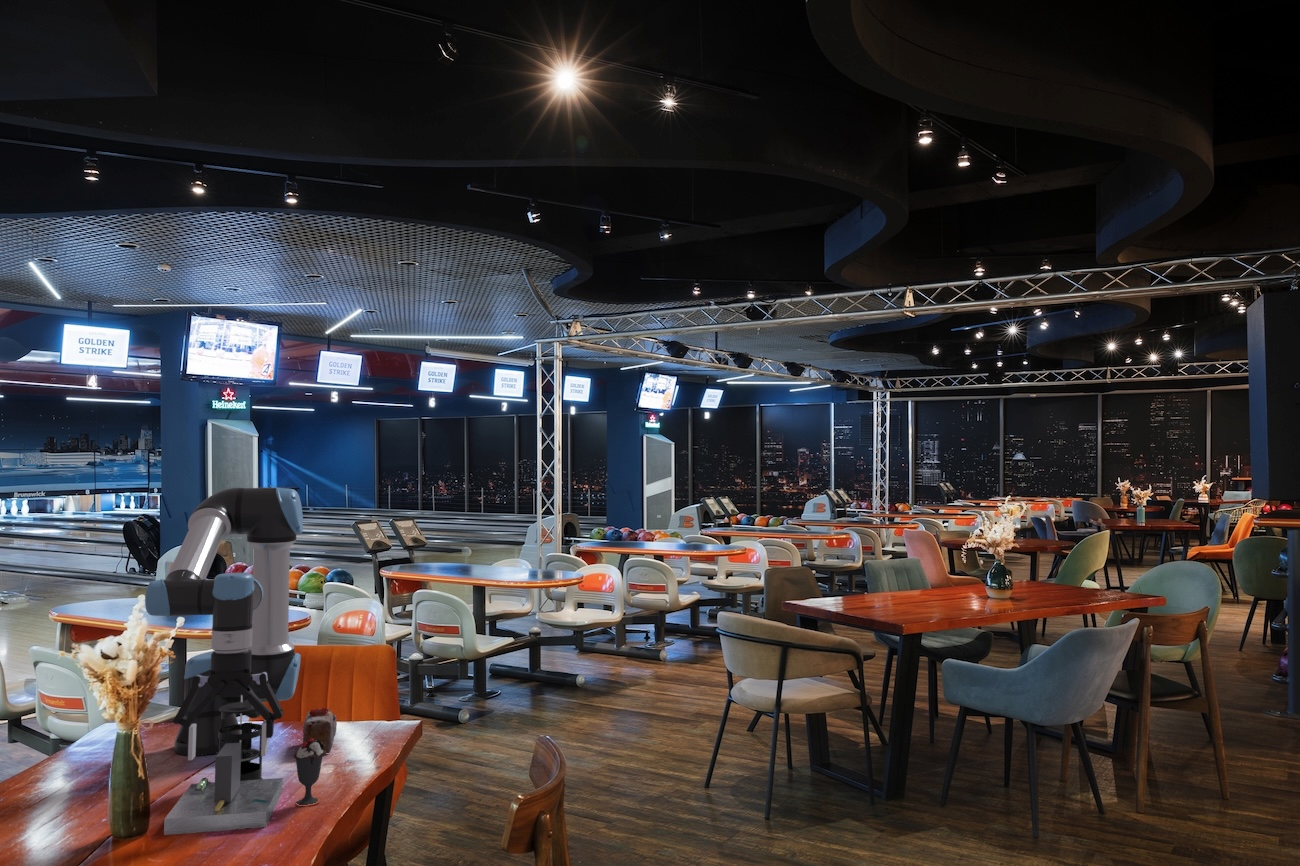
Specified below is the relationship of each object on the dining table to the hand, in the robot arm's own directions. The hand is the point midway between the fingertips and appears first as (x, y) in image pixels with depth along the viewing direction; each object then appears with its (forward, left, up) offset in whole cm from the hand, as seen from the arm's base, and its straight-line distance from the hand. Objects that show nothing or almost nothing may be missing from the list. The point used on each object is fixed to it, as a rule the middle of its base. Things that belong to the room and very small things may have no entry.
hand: (228, 756), depth 184 cm
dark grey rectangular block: (+2, 0, -8) cm, 8 cm away
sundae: (-3, +15, -11) cm, 19 cm away
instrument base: (0, 0, -11) cm, 11 cm away
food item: (-42, +13, -12) cm, 46 cm away
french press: (-18, -1, -11) cm, 22 cm away
